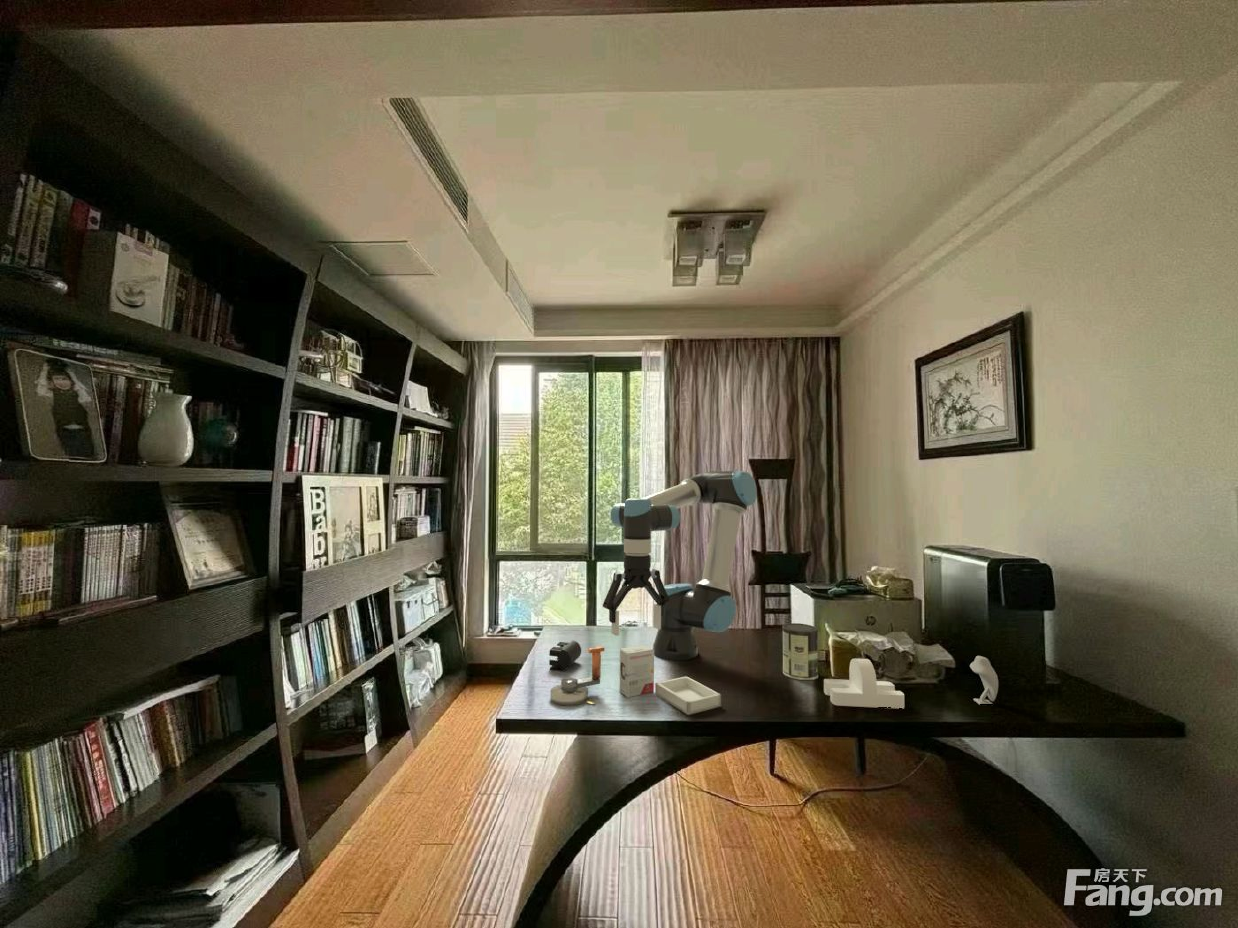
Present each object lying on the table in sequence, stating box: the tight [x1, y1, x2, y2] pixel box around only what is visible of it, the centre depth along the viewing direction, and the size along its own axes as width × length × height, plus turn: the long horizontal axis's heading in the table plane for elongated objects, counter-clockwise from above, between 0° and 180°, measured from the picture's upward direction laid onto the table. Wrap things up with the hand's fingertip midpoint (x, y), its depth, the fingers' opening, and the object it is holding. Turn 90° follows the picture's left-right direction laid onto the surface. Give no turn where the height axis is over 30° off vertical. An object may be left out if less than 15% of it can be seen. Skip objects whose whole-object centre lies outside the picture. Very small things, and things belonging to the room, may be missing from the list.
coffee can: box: [781, 622, 819, 681], centre depth 156 cm, size 10×10×14 cm
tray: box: [654, 675, 722, 716], centre depth 136 cm, size 11×15×3 cm
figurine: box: [969, 655, 999, 705], centre depth 137 cm, size 8×5×12 cm
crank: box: [560, 646, 605, 692], centre depth 139 cm, size 12×4×10 cm, turn 120°
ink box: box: [619, 644, 655, 698], centre depth 141 cm, size 9×5×12 cm, turn 116°
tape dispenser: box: [823, 658, 905, 709], centre depth 138 cm, size 10×18×11 cm, turn 85°
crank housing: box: [549, 683, 596, 707], centre depth 136 cm, size 10×12×2 cm
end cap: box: [548, 639, 582, 672], centre depth 161 cm, size 10×7×7 cm
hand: (636, 631), depth 142 cm, fingers open, 13 cm apart
